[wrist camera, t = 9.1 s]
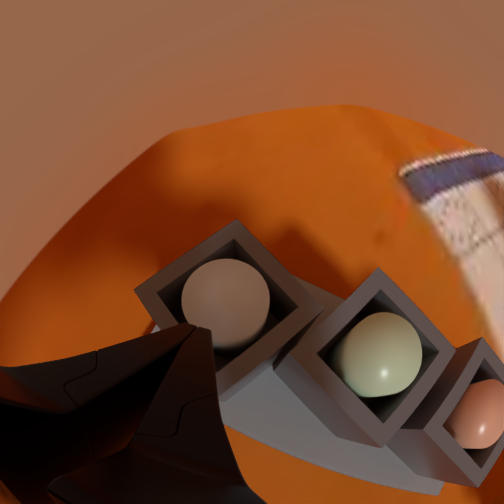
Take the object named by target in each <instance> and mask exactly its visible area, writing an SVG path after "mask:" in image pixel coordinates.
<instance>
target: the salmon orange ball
mask: <svg viewBox="0 0 504 504" xmlns="http://www.w3.org/2000/svg"><path fill="white" fill-rule="evenodd" d="M442 426H443V427H444V428H445V430H446V431H447V432H448V433H449V434H450V435H451V436H452V437H453V438H454V439H455V441H456V442H457V443H458V444H459V445H460V446H461V447H462V448H471V449H483V448H487V447H489V446H491V445H492V444H494V443H495V442H496V441H497V440H498V439H499V437H500V436H501V435H502V433H503V431H504V385H503V384H502V383H501V382H500V381H498V380H495V379H489V380H485V381H481V382H478V383H474V384H470V385H468V387H467V389H466V390H465V392H464V394H463V395H462V397H461V398H460V400H459V402H458V403H457V405H456V406H455V408H454V409H453V411H452V412H451V414H450V415H449V417H448V418H447V419H446V421H445V422H444V424H443V425H442Z"/></svg>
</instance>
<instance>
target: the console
mask: <svg viewBox="0 0 504 504" xmlns="http://www.w3.org/2000/svg"><path fill="white" fill-rule="evenodd" d="M218 259H234V260H239V261H242V262H244V263H247V264H249V265H250V266H252V267H253V268H255V269H256V270H257V271H258V272H259V273H260V274H261V276H262V277H263V278H264V280H265V282H266V284H267V286H268V290H269V295H270V304H269V310H268V314H267V318H266V323H265V327H264V331H263V335H262V337H261V339H259V340H258V341H257V342H256V343H254V344H253V345H252V346H251V347H249V348H248V349H247V350H246V351H244V352H243V353H242V354H241V355H239V356H237V357H222V356H219V355H216V354H214V362H215V372H216V382H217V391H218V398H219V406H220V412H221V417H222V421H223V424H225V425H227V426H229V427H231V428H233V429H235V430H237V431H239V432H241V433H243V434H245V435H247V436H249V437H251V438H253V439H255V440H257V441H259V442H262V443H264V444H266V445H268V446H270V447H273V448H275V449H277V450H280V451H282V452H284V453H287V454H289V455H292V456H294V457H297V458H299V459H302V460H304V461H307V462H310V463H312V464H315V465H318V466H321V467H323V468H326V469H329V470H332V471H335V472H338V473H341V474H345V475H348V476H351V477H355V478H358V479H361V480H365V481H369V482H372V483H376V484H380V485H384V486H389V487H393V488H398V489H402V490H407V491H412V492H418V493H424V494H430V495H437V496H438V495H439V493H440V491H441V489H442V487H443V484H444V482H449V483H454V484H459V485H464V486H470V487H476V488H478V487H479V486H480V485H481V483H482V482H483V480H484V479H485V477H486V476H487V474H488V473H489V471H490V470H491V468H492V467H493V465H494V464H495V462H496V460H497V459H498V457H499V455H500V454H501V452H502V450H503V449H504V431H503V433H502V435H501V436H500V437H499V439H498V440H497V441H496V442H495V443H494V444H492V445H491V446H489V447H487V448H483V449H471V448H462V447H461V446H460V445H459V444H458V443H457V442H456V441H455V439H454V438H453V437H452V436H451V435H450V434H449V433H448V432H447V431H446V430H445V428H444V427H443V426H442V425H443V424H444V422H445V421H446V419H447V418H448V417H449V415H450V414H451V412H452V411H453V409H454V408H455V406H456V405H457V403H458V402H459V400H460V398H461V397H462V395H463V394H464V392H465V390H466V389H467V387H468V385H470V384H474V383H478V382H481V381H485V380H489V379H495V380H498V381H500V382H501V383H502V384H503V385H504V364H503V363H502V362H501V360H500V359H499V358H498V356H497V355H496V354H495V352H494V351H493V350H492V349H491V347H490V346H489V345H488V343H487V342H486V341H485V340H484V339H483V337H481V338H479V339H476V340H474V341H472V342H470V343H468V344H465V345H463V346H461V347H458V348H456V349H455V348H454V347H453V346H452V345H451V343H450V342H449V341H448V340H447V339H446V338H445V337H444V336H443V334H442V333H441V332H440V331H439V330H438V329H437V328H436V327H435V326H434V324H433V323H432V322H431V321H430V320H429V319H428V318H427V317H426V316H425V315H424V314H423V312H422V311H421V310H420V309H419V308H418V307H417V306H416V305H415V304H414V303H413V302H412V301H411V300H410V299H409V298H408V297H407V296H406V295H405V294H404V292H403V291H402V290H401V289H400V288H399V287H398V286H397V285H396V284H395V283H394V282H393V281H392V280H391V279H390V278H389V277H388V276H387V275H386V274H385V273H384V272H383V271H382V270H381V269H380V268H379V267H378V268H377V269H376V270H375V271H374V272H373V273H372V274H371V275H370V276H369V277H368V278H367V279H366V280H365V281H364V282H363V283H362V284H361V285H360V286H359V287H358V288H357V289H356V290H355V291H354V292H353V293H352V294H351V295H350V296H349V297H348V298H347V299H346V300H344V299H342V298H340V297H338V296H336V295H334V294H332V293H330V292H328V291H325V290H323V289H321V288H319V287H317V286H315V285H313V284H311V283H309V282H306V281H304V280H302V279H300V278H298V277H296V276H294V275H292V274H290V272H289V271H288V270H287V269H286V268H285V267H284V266H283V265H282V264H281V263H280V262H279V261H278V260H277V259H276V258H275V257H274V256H273V255H272V254H271V253H270V252H269V251H268V250H267V249H266V248H265V247H264V246H263V245H262V244H261V243H260V242H259V241H258V240H257V239H256V238H255V237H254V236H253V235H252V234H251V233H250V232H249V231H248V230H247V229H246V228H245V227H244V226H243V225H242V224H241V223H240V222H239V221H238V220H237V219H236V220H234V221H233V222H231V223H230V224H228V225H227V226H225V227H224V228H222V229H221V230H219V231H218V232H216V233H215V234H213V235H212V236H210V237H209V238H207V239H206V240H204V241H203V242H201V243H200V244H198V245H197V246H195V247H194V248H192V249H191V250H189V251H188V252H187V253H185V254H184V255H182V256H181V257H179V258H178V259H176V260H175V261H173V262H172V263H171V264H169V265H168V266H166V267H165V268H163V269H162V270H160V271H159V272H158V273H156V274H155V275H153V276H152V277H150V278H149V279H148V280H146V281H145V282H143V283H142V284H141V285H139V286H138V287H136V288H135V289H134V291H135V293H136V294H137V296H138V297H139V299H140V300H141V302H142V304H143V305H144V307H145V308H146V310H147V311H148V313H149V314H150V316H151V317H152V319H153V320H154V322H155V323H156V324H157V325H156V326H155V328H154V329H153V331H152V332H151V333H154V332H157V331H160V330H163V329H166V328H169V327H172V326H175V325H178V324H181V323H188V321H187V320H186V318H185V315H184V313H183V309H182V292H183V288H184V286H185V283H186V282H187V280H188V278H189V277H190V276H191V274H192V273H193V272H194V271H195V270H196V269H198V268H199V267H201V266H202V265H204V264H206V263H208V262H211V261H214V260H218ZM380 312H388V313H393V314H396V315H399V316H401V317H402V318H404V319H405V320H407V321H408V322H409V323H410V324H411V325H412V326H413V328H414V329H415V331H416V332H417V334H418V336H419V339H420V342H421V347H422V361H421V366H420V369H419V372H418V374H417V376H416V377H415V379H414V380H413V382H412V383H411V384H410V385H409V386H408V387H406V388H405V389H404V390H402V391H400V392H398V393H395V394H391V395H385V396H378V397H372V398H364V399H359V398H358V397H357V396H356V395H355V394H354V393H353V392H352V391H351V390H350V389H349V388H348V387H347V386H346V385H345V384H344V382H343V381H342V380H341V379H340V378H339V377H338V376H337V375H336V374H335V373H334V372H333V371H332V370H331V369H330V368H329V367H328V366H327V365H326V364H325V363H324V360H325V357H326V354H327V352H328V350H329V349H330V347H331V346H332V345H333V344H334V343H335V342H336V341H337V340H339V339H340V338H341V337H342V336H344V335H345V334H346V333H347V332H349V331H350V330H351V329H352V328H353V327H355V326H356V325H357V324H358V323H360V322H361V321H362V320H363V319H365V318H366V317H368V316H370V315H372V314H375V313H380Z"/></svg>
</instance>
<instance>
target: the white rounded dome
mask: <svg viewBox="0 0 504 504" xmlns="http://www.w3.org/2000/svg"><path fill="white" fill-rule="evenodd" d="M269 304H270V295H269V290H268V286H267V284H266V282H265V280H264V278H263V277H262V276H261V274H260V273H259V272H258V271H257V270H256V269H255V268H253V267H252V266H250V265H249V264H247V263H244V262H242V261H239V260H234V259H218V260H214V261H211V262H208V263H206V264H204V265H202V266H201V267H199V268H198V269H196V270H195V271H194V272H193V273H192V274H191V276H190V277H189V278H188V280H187V282H186V283H185V286H184V288H183V292H182V309H183V313H184V315H185V318H186V320H187V321H188V323H189V324H193V325H196V326H197V327H203V328H207V329H210V330H211V331H212V341H213V352H214V354H216V355H219V356H222V357H237V356H239V355H241V354H242V353H243V352H244V351H246V350H247V349H248V348H249V347H251V346H252V345H253V344H254V343H256V342H257V341H258V340H259V339H261V337H262V335H263V331H264V327H265V323H266V318H267V314H268V310H269Z"/></svg>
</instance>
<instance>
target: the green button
mask: <svg viewBox="0 0 504 504" xmlns="http://www.w3.org/2000/svg"><path fill="white" fill-rule="evenodd" d="M421 361H422V347H421V342H420V339H419V336H418V334H417V332H416V331H415V329H414V328H413V326H412V325H411V324H410V323H409V322H408V321H407V320H405V319H404V318H402V317H401V316H399V315H396V314H393V313H388V312H380V313H375V314H372V315H370V316H368V317H366V318H365V319H363V320H362V321H361V322H360V323H358V324H357V325H356V326H355V327H353V328H352V329H351V330H350V331H349V332H347V333H346V334H345V335H344V336H342V337H341V338H340V339H339V340H337V341H336V342H335V343H334V344H333V345H332V346H331V347H330V349H329V350H328V352H327V354H326V357H325V360H324V363H325V364H326V365H327V366H328V367H329V368H330V369H331V370H332V371H333V372H334V373H335V374H336V375H337V376H338V377H339V378H340V379H341V380H342V381H343V382H344V384H345V385H346V386H347V387H348V388H349V389H350V390H351V391H352V392H353V393H354V394H355V395H356V396H357V397H358V398H359V399H364V398H372V397H378V396H385V395H391V394H395V393H398V392H400V391H402V390H404V389H405V388H406V387H408V386H409V385H410V384H411V383H412V382H413V380H414V379H415V377H416V376H417V374H418V372H419V369H420V366H421Z"/></svg>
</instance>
